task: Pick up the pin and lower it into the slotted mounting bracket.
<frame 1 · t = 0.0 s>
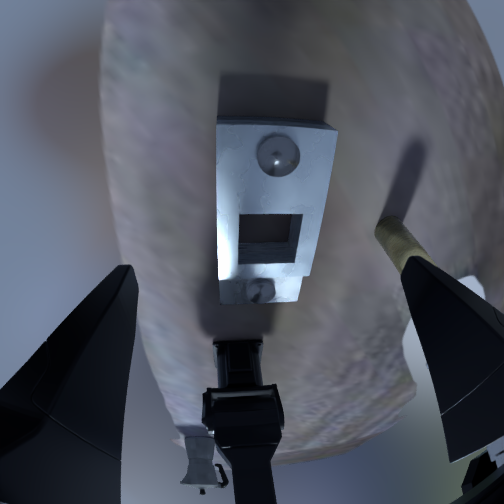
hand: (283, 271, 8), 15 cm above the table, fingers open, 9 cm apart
pin: (387, 229, 27), on the table
slotted mounting bracket: (263, 220, 25), on the table
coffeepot: (202, 439, 68), on the table
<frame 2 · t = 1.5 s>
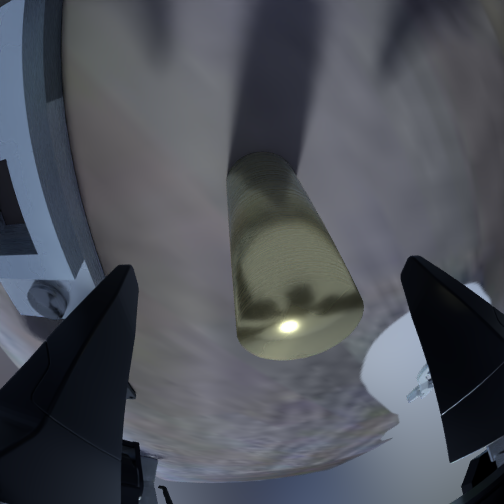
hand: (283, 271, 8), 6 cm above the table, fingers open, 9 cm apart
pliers: (432, 373, 35), on the table
pin: (261, 184, 13), on the table
slotted mounting bracket: (19, 185, 11), on the table
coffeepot: (145, 458, 55), on the table
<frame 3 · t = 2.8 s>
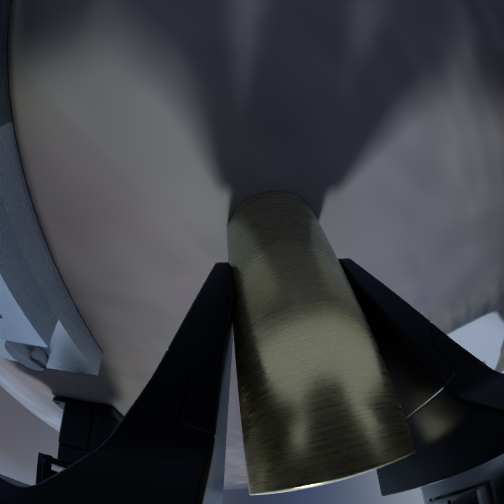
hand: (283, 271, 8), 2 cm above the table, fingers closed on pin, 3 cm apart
pin: (272, 232, 10), on the table, touching gripper
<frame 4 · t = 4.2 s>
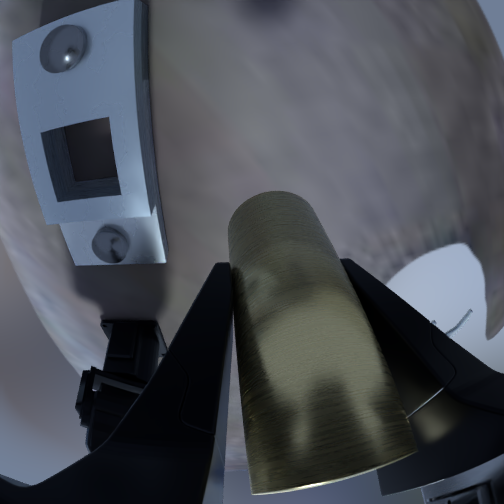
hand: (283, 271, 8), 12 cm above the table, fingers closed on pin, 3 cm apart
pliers: (433, 340, 40), on the table
pin: (273, 231, 10), point 10 cm above the table, touching gripper
slotted mounting bracket: (97, 146, 16), on the table
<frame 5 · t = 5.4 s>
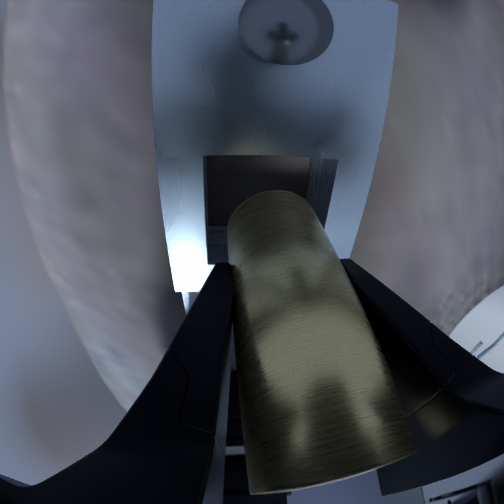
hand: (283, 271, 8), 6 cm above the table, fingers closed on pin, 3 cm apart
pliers: (473, 357, 38), on the table
pin: (272, 230, 10), point 4 cm above the table, touching gripper
slotted mounting bracket: (258, 182, 13), on the table
when the fingers open (4 cm above the table, at t = 6.1 s): pin drops 2 cm, resting in slotted mounting bracket.
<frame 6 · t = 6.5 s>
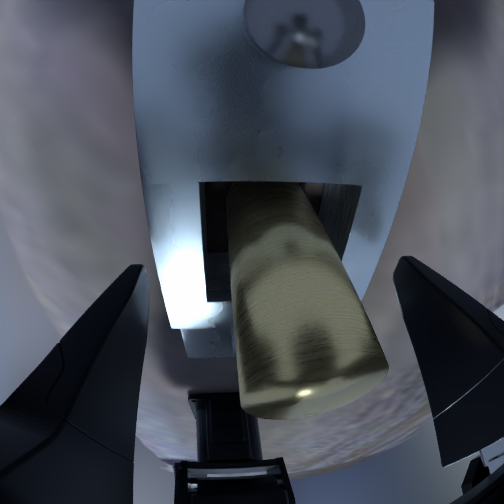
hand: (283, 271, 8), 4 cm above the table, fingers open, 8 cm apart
pin: (265, 203, 12), resting in slotted mounting bracket
slotted mounting bracket: (264, 204, 12), on the table
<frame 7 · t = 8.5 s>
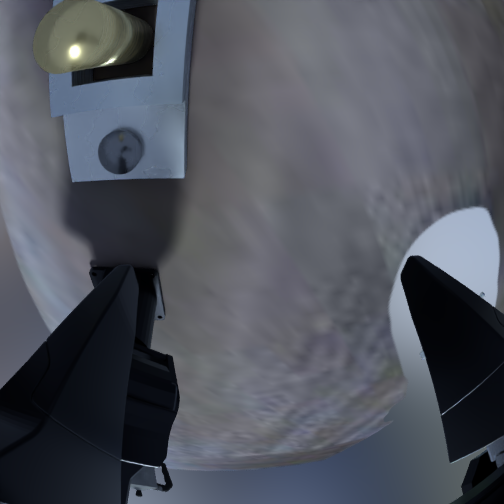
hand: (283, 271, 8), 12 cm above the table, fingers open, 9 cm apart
pin: (128, 40, 12), resting in slotted mounting bracket
slotted mounting bracket: (128, 41, 12), on the table
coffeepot: (144, 431, 55), on the table
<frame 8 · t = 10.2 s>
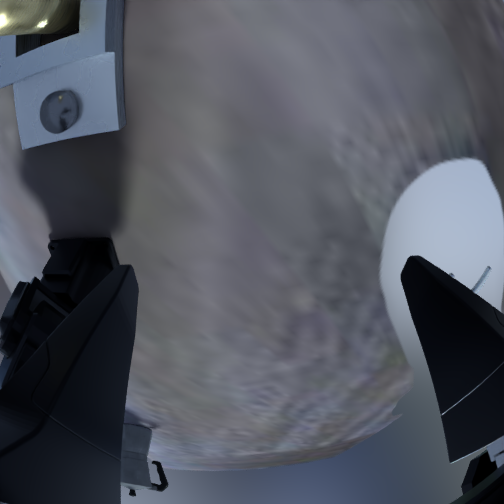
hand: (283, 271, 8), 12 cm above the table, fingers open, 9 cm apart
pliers: (449, 305, 34), on the table
pin: (69, 13, 10), resting in slotted mounting bracket
slotted mounting bracket: (69, 13, 10), on the table
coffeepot: (138, 429, 54), on the table
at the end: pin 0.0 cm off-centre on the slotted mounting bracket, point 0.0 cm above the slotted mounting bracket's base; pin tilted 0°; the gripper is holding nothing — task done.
